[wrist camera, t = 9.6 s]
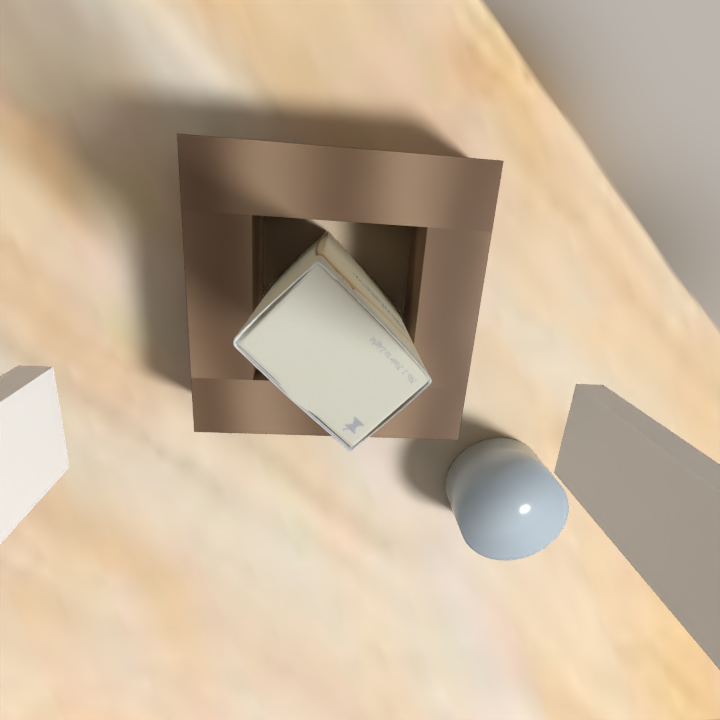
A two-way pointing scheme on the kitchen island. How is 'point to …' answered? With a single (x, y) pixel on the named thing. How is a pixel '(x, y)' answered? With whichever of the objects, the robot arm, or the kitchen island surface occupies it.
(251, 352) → the skincare box
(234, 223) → the socket block
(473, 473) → the light blue rounded block
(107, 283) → the kitchen island surface
